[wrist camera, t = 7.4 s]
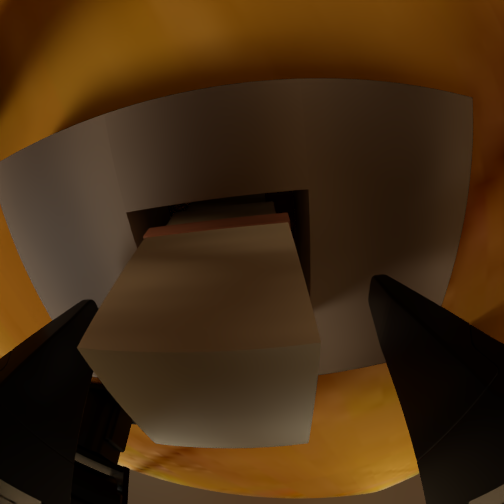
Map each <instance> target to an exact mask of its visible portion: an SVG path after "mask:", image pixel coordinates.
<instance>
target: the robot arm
mask: <svg viewBox="0 0 504 504" xmlns="http://www.w3.org/2000/svg"><path fill="white" fill-rule="evenodd" d="M368 303H369V307H370V311H371V314H372V318H373V322H374V325H375V329H376V333H377V337H378V340H379V344H380V347H381V350H382V353H383V355H384V358H385V361H386V363H387V366H388V369H389V372H390V375H391V377H392V380H393V383H394V386H395V389H396V392H397V395H398V398H399V401H400V404H401V407H402V410H403V414H404V417H405V420H406V424H407V427H408V430H409V434H410V437H411V441H412V444H413V448H414V452H415V456H416V460H417V464H418V468H419V473H420V477H421V481H422V486H423V490H424V495H425V500H426V504H465V503H468V502H469V504H504V344H503V343H501V342H499V341H497V340H495V339H494V338H492V337H490V336H489V335H487V334H485V333H484V332H482V331H480V330H479V329H477V328H476V327H474V326H472V325H469V323H468V322H466V321H464V320H463V319H461V318H459V317H458V316H456V315H455V314H453V313H451V312H450V311H448V310H446V309H445V308H443V307H441V306H440V305H438V304H436V303H435V302H433V301H431V300H429V299H428V298H426V297H424V296H423V295H421V294H419V293H417V292H416V291H414V290H412V289H410V288H409V287H407V286H405V285H403V284H402V283H400V282H398V281H396V280H395V279H393V278H391V277H389V276H388V275H386V274H380V275H374V276H372V278H371V282H370V289H369V295H368ZM98 309H99V308H98V306H97V304H96V303H95V301H94V300H92V299H85V300H82V301H80V302H79V303H77V304H76V305H74V306H73V307H71V308H70V309H68V310H67V311H65V312H64V313H63V314H61V315H60V316H58V317H57V318H55V319H54V320H52V321H51V322H50V323H48V324H47V325H45V326H44V327H43V328H41V329H40V330H38V331H37V332H36V333H34V334H33V335H31V336H30V337H29V338H27V339H26V340H25V341H23V342H22V343H21V344H19V345H18V346H16V347H15V348H14V349H13V350H12V351H10V352H8V353H7V354H6V355H4V356H3V357H2V358H0V504H127V502H128V483H129V470H130V469H129V468H127V467H125V466H123V467H122V466H120V465H117V464H118V459H119V455H120V452H124V451H125V447H126V443H127V439H128V435H129V432H130V428H131V424H136V423H135V422H134V421H133V419H132V418H131V417H130V416H129V415H128V414H127V413H126V412H125V410H124V409H123V408H122V407H121V406H120V405H119V403H118V402H117V401H116V400H115V399H114V397H113V396H112V395H111V394H110V392H109V391H108V390H107V389H106V387H105V386H102V385H95V384H90V383H91V379H92V375H93V370H92V369H91V367H90V366H89V365H88V363H87V362H86V360H85V359H84V357H83V356H82V355H81V353H80V352H79V350H78V349H77V347H78V345H79V343H80V341H81V339H82V337H83V336H84V334H85V332H86V330H87V328H88V327H89V325H90V323H91V321H92V320H93V318H94V316H95V315H96V313H97V311H98ZM76 460H77V461H76ZM78 461H79V462H78ZM80 462H81V463H80ZM82 463H83V464H82ZM84 464H86V465H88V466H90V467H88V466H86V465H84ZM91 467H92V468H91ZM93 468H94V469H93ZM95 469H97V470H99V471H97V470H95ZM100 471H101V472H100ZM102 472H104V473H102ZM105 473H106V474H105ZM107 474H109V475H107Z"/></svg>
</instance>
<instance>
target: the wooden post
mask: <svg viewBox="0 0 504 504" xmlns="http://www.w3.org/2000/svg"><path fill="white" fill-rule="evenodd" d="M143 238H144V240H143V241H142V243H141V244H140V246H139V247H138V248H137V250H136V251H135V253H134V254H133V256H132V257H131V259H130V260H129V262H128V263H127V265H126V266H125V268H124V269H123V271H122V272H121V274H120V275H119V277H118V279H117V280H116V282H115V283H114V285H113V286H112V288H111V290H110V291H109V293H108V295H107V296H106V298H105V299H104V301H103V303H102V304H101V306H100V308H99V309H98V311H97V313H96V315H95V316H94V318H93V320H92V321H91V323H90V325H89V327H88V328H87V330H86V332H85V334H84V336H83V337H82V339H81V341H80V343H79V345H78V347H77V349H78V350H79V352H80V353H81V355H82V356H83V357H84V359H85V360H86V362H87V363H88V365H89V366H90V367H91V369H92V370H93V372H94V373H95V374H96V376H97V377H98V378H99V380H100V381H101V382H102V384H103V385H104V386H105V387H106V389H107V390H108V391H109V392H110V394H111V395H112V396H113V397H114V399H115V400H116V401H117V402H118V403H119V405H120V406H121V407H122V408H123V409H124V410H125V412H126V413H127V414H128V415H129V416H130V417H131V418H132V419H133V421H134V422H135V423H136V424H137V425H138V426H139V427H140V428H141V429H142V430H143V431H144V432H145V433H146V434H147V435H148V436H149V437H150V438H151V439H152V440H153V441H154V442H155V443H157V444H165V445H175V446H187V447H204V448H256V447H274V446H286V445H295V444H304V443H308V441H309V435H310V429H311V423H312V416H313V409H314V402H315V394H316V387H317V378H318V370H319V360H320V350H321V339H320V335H319V332H318V328H317V324H316V320H315V316H314V312H313V308H312V304H311V301H310V297H309V293H308V290H307V286H306V282H305V279H304V275H303V271H302V268H301V264H300V261H299V257H298V254H297V250H296V247H295V243H294V240H293V237H292V233H291V230H290V219H289V216H288V213H278V214H276V212H275V207H274V203H273V201H268V202H266V199H265V193H261V194H252V195H243V196H234V197H226V198H218V199H210V200H202V201H195V202H191V203H190V205H189V207H188V208H187V210H186V211H181V212H175V213H174V214H173V216H172V217H171V219H170V220H169V222H168V224H167V225H166V226H161V227H153V228H149V229H148V230H147V232H146V233H145V234H144V236H143Z"/></svg>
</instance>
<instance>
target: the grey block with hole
mask: <svg viewBox="0 0 504 504" xmlns="http://www.w3.org/2000/svg"><path fill="white" fill-rule="evenodd" d="M472 145H473V100H472V97H468V96H464V95H460V94H456V93H452V92H447V91H442V90H437V89H432V88H427V87H421V86H415V85H408V84H401V83H393V82H384V81H373V80H359V79H336V78H304V79H280V80H266V81H255V82H246V83H237V84H229V85H222V86H216V87H210V88H204V89H198V90H193V91H188V92H183V93H178V94H174V95H169V96H165V97H161V98H157V99H153V100H149V101H145V102H142V103H138V104H135V105H131V106H128V107H125V108H121V109H118V110H115V111H112V112H109V113H106V114H103V115H100V116H97V117H95V118H92V119H89V120H87V121H84V122H81V123H79V124H76V125H74V126H71V127H69V128H66V129H64V130H62V131H59V132H57V133H55V134H53V135H50V136H48V137H46V138H44V139H42V140H40V141H38V142H36V143H34V144H32V145H30V146H28V147H26V148H24V149H22V150H20V151H18V152H16V153H14V154H13V155H11V156H9V157H7V158H6V159H4V160H2V161H0V204H1V207H2V210H3V213H4V216H5V219H6V222H7V225H8V228H9V230H10V233H11V236H12V238H13V241H14V243H15V246H16V248H17V251H18V253H19V255H20V258H21V260H22V262H23V265H24V267H25V269H26V271H27V273H28V275H29V277H30V279H31V281H32V284H33V286H34V287H35V289H36V291H37V293H38V295H39V297H40V299H41V301H42V303H43V305H44V306H45V308H46V310H47V312H48V313H49V315H50V317H51V319H52V320H54V319H55V318H57V317H58V316H60V315H61V314H63V313H64V312H65V311H67V310H68V309H70V308H71V307H73V306H74V305H76V304H77V303H79V302H80V301H82V300H85V299H92V300H94V301H95V303H96V304H97V306H98V308H100V306H101V304H102V303H103V301H104V299H105V298H106V296H107V295H108V293H109V291H110V290H111V288H112V286H113V285H114V283H115V282H116V280H117V279H118V277H119V275H120V274H121V272H122V271H123V269H124V268H125V266H126V265H127V263H128V262H129V260H130V259H131V257H132V256H133V254H134V253H135V251H136V250H137V248H138V247H139V246H140V244H141V243H142V241H143V240H144V238H143V236H144V234H145V233H146V232H147V230H148V229H149V228H153V227H161V226H166V225H167V224H168V222H169V220H170V219H171V218H170V214H169V210H168V205H174V204H181V203H188V202H195V201H202V200H210V199H218V198H226V197H234V196H243V195H252V194H261V193H271V192H282V191H293V206H294V223H295V244H296V250H297V254H298V257H299V261H300V264H301V268H302V271H303V275H304V279H305V282H306V286H307V290H308V293H309V297H310V301H311V304H312V308H313V312H314V316H315V320H316V324H317V328H318V332H319V335H320V339H321V350H320V360H319V370H318V375H322V374H328V373H335V372H341V371H347V370H352V369H357V368H363V367H368V366H372V365H377V364H382V363H386V361H385V358H384V355H383V353H382V350H381V347H380V344H379V340H378V337H377V333H376V329H375V325H374V322H373V318H372V314H371V311H370V307H369V303H368V295H369V289H370V282H371V278H372V276H374V275H380V274H386V275H388V276H389V277H391V278H393V279H395V280H396V281H398V282H400V283H402V284H403V285H405V286H407V287H409V288H410V289H412V290H414V291H416V292H417V293H419V294H421V295H423V296H424V297H426V298H428V299H429V300H431V301H433V302H435V303H436V304H438V305H440V306H441V305H442V302H443V299H444V296H445V293H446V290H447V287H448V283H449V280H450V277H451V273H452V270H453V266H454V262H455V258H456V254H457V250H458V246H459V242H460V237H461V232H462V227H463V222H464V217H465V211H466V205H467V198H468V191H469V183H470V173H471V162H472ZM92 377H97V376H96V374H95V373H94V372H93V375H92Z"/></svg>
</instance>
